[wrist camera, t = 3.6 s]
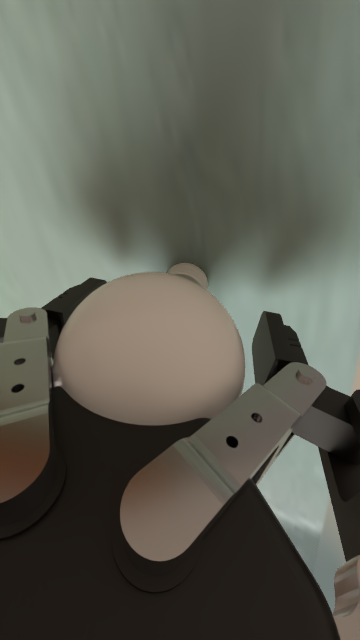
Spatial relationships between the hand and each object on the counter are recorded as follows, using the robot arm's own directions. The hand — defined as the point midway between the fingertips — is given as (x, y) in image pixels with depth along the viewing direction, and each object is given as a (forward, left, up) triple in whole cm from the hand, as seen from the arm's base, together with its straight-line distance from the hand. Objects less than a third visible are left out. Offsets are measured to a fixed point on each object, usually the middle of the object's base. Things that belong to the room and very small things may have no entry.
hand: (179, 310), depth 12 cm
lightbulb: (0, 0, -4) cm, 4 cm away
